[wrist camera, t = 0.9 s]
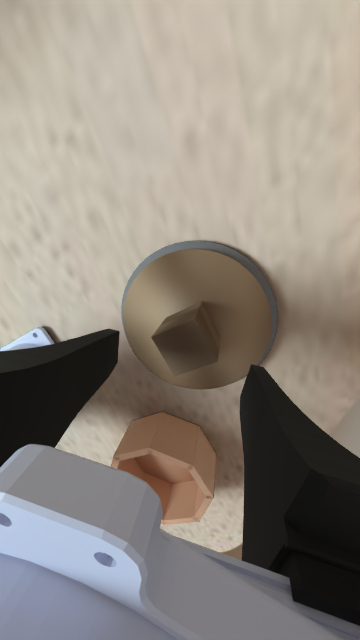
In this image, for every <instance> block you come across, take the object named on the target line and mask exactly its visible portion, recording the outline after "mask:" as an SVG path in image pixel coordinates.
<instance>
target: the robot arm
mask: <svg viewBox="0 0 360 640" xmlns="http://www.w3.org/2000/svg"><path fill="white" fill-rule="evenodd" d="M118 346H119V331H116V330H112V329H106V330H102V331H98V332H95V333H91V334H88V335H85V336H81V337H78V338H74V339H70V340H67V341H63V342H59V343H54V342H53V340H52V339H51V337H50V336H49V335H48V333H47V332H46V330H45V329H44V328H42V327H38V328H36V329H34V330H32V331H30V332H29V333H27V334H25V335H23V336H22V337H20V338H18V339H16V340H15V341H13V342H11V343H9V344H8V345H6V346H4V347H2V348H1V349H0V640H360V458H359V457H357V456H356V455H354V454H353V453H351V452H350V451H349V450H347V449H346V448H345V447H343V446H342V445H340V444H339V443H338V442H337V441H335V440H334V439H333V438H331V437H330V436H329V435H328V434H327V433H325V432H324V431H323V430H322V429H320V428H319V427H318V426H317V425H316V424H315V423H314V422H313V421H311V420H310V419H309V418H308V417H307V416H306V415H305V414H304V413H303V412H302V411H301V410H300V409H299V408H298V407H297V406H296V405H295V404H294V403H293V402H292V401H291V400H290V399H289V397H288V396H287V395H286V394H285V393H284V392H283V390H282V389H281V388H280V387H279V386H278V384H277V383H276V382H275V381H274V379H273V378H272V377H271V376H270V374H269V373H268V372H267V371H266V370H265V369H264V367H260V366H256V365H252V364H251V366H250V369H249V372H248V375H247V378H246V381H245V384H244V387H243V390H242V393H241V397H240V421H241V432H242V442H243V452H244V521H243V547H242V560H239V559H236V558H233V557H231V556H228V555H225V554H222V553H220V552H217V551H214V550H211V549H209V548H206V547H203V546H200V545H198V544H195V543H192V542H189V541H187V540H184V539H181V538H178V537H175V536H173V535H170V534H169V533H167V532H165V531H164V530H162V529H160V524H161V519H162V515H163V511H162V506H161V501H160V498H159V496H158V495H157V493H156V492H155V491H154V490H153V489H152V488H151V487H150V486H149V484H148V483H147V482H145V481H143V480H142V479H140V478H138V477H136V476H134V475H132V474H130V473H128V472H125V471H122V470H119V469H116V468H113V467H110V466H107V465H104V464H101V463H98V462H95V461H92V460H89V459H86V458H83V457H80V456H77V455H74V454H71V453H68V452H65V451H62V450H59V449H56V448H55V446H56V445H57V443H58V442H59V440H60V439H61V437H62V436H63V434H64V433H65V431H66V430H67V428H68V427H69V425H70V424H71V422H72V421H73V419H74V418H75V417H76V415H77V414H78V412H79V411H80V410H81V409H82V407H83V406H84V405H85V404H86V403H87V402H88V400H89V399H90V398H91V397H92V396H93V395H94V393H95V392H96V391H97V390H98V389H99V388H100V386H101V385H102V384H103V383H104V382H105V380H106V379H107V378H108V377H109V375H110V374H111V372H112V371H113V369H114V367H115V366H116V364H117V362H118Z"/></svg>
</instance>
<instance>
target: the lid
mask: <svg viewBox="0 0 360 640" xmlns="http://www.w3.org/2000/svg"><path fill="white" fill-rule="evenodd" d="M123 322H124V329H125V333H126V337H127V339H128V342H129V344H130V346H131V348H132V350H133V352H134V353H135V355H136V356H137V357H138V359H139V360H140V361H141V362H142V363H143V364H144V366H146V367H147V368H148V369H149V370H150V371H151V372H153V373H154V374H155V375H157V376H158V377H160V378H162V379H163V380H165V381H167V382H170V383H172V384H175V385H178V386H181V387H185V388H191V389H212V388H218V387H222V386H225V385H228V384H231V383H233V382H235V381H237V380H239V379H241V378H242V377H244V376H245V375H246V374H248V372H249V369H250V366H251V364H252V365H257V364H258V363H259V361H260V360H261V358H262V357H263V355H264V353H265V351H266V349H267V347H268V344H269V341H270V337H271V330H272V315H271V310H270V305H269V302H268V299H267V297H266V294H265V293H264V291H263V289H262V287H261V285H260V284H259V282H258V281H257V279H256V278H255V277H254V275H253V274H252V273H251V272H250V271H249V270H248V269H247V268H246V267H244V266H243V265H242V264H240V263H239V262H238V261H236V260H234V259H233V258H231V257H229V256H227V255H224V254H222V253H219V252H215V251H212V250H206V249H184V250H178V251H175V252H172V253H169V254H166V255H164V256H161V257H159V258H157V259H155V260H154V261H153V262H151V263H150V264H148V265H147V266H146V267H145V268H144V269H142V270H141V271H140V273H139V274H138V275H137V276H136V277H135V279H134V280H133V282H132V284H131V285H130V287H129V290H128V292H127V295H126V298H125V302H124V309H123Z"/></svg>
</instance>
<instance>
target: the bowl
mask: <svg viewBox="0 0 360 640" xmlns="http://www.w3.org/2000/svg"><path fill="white" fill-rule="evenodd" d="M111 467H113V468H116V469H119V470H122V471H125V472H128V473H130V474H132V475H134V476H136V477H138V478H140V479H142V480H143V481H145V482H147V483H148V484H149V486H150V487H151V488H152V489H153V490H154V491H155V492H156V493H157V495H158V496H159V498H160V501H161V506H162V511H163V515H162V519H161V524H163V525H169V524H179V523H189V522H200V520H201V518H202V516H203V515H204V513H205V511H206V510H207V508H208V506H209V505H210V503H211V501H212V500H213V498H214V486H215V470H216V453H215V452H214V450H213V448H212V447H211V445H210V443H209V442H208V440H207V438H206V437H205V435H204V433H203V432H202V430H201V428H200V426H198V425H195V424H192V423H190V422H187V421H185V420H182V419H180V418H177V417H174V416H172V415H169V414H167V413H164V412H160V413H157V414H154V415H150V416H147V417H143V418H140V419H137V420H133V421H131V423H130V425H129V427H128V429H127V431H126V433H125V435H124V437H123V438H122V440H121V442H120V444H119V446H118V448H117V450H116V452H115V454H114V456H113V460H112V464H111Z"/></svg>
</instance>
